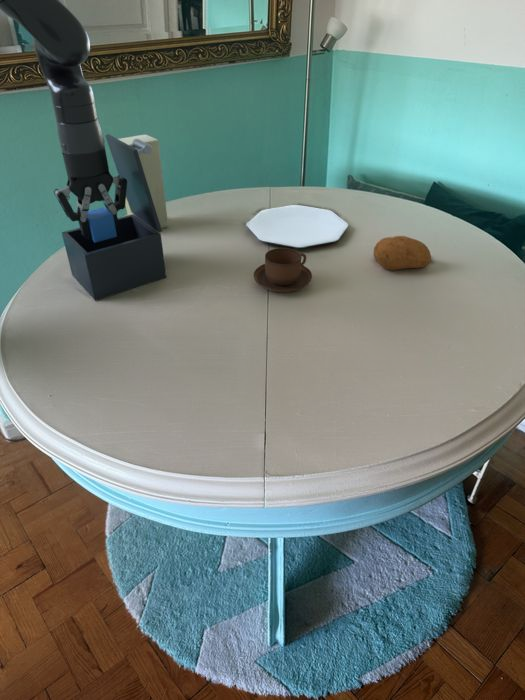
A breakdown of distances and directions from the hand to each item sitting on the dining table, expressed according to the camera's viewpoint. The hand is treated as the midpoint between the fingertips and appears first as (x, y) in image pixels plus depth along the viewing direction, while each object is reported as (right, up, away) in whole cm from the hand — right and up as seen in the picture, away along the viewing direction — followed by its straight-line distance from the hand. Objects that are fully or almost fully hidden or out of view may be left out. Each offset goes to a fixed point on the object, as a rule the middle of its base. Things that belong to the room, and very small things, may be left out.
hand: (101, 234), depth 103 cm
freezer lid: (+7, +9, -1) cm, 12 cm away
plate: (+41, +7, +26) cm, 49 cm away
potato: (+62, -5, +10) cm, 63 cm away
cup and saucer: (+36, -9, +5) cm, 38 cm away
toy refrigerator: (+3, +8, +28) cm, 29 cm away
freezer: (+2, -7, +7) cm, 10 cm away
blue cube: (0, 0, 0) cm, 0 cm away
